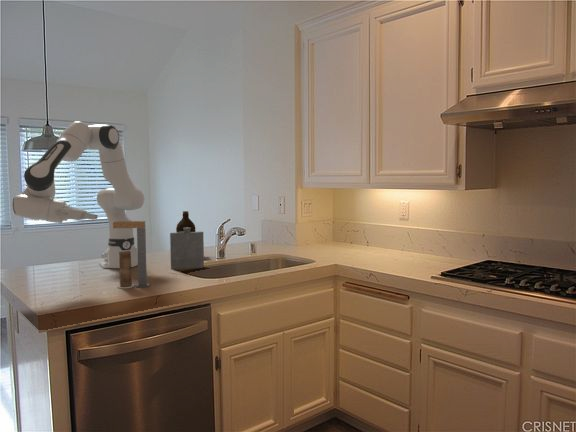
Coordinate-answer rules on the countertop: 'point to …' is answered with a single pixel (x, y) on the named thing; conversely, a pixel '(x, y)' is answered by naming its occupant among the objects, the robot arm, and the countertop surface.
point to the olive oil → (185, 223)
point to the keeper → (140, 249)
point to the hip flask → (187, 249)
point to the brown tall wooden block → (125, 268)
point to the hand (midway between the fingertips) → (96, 217)
